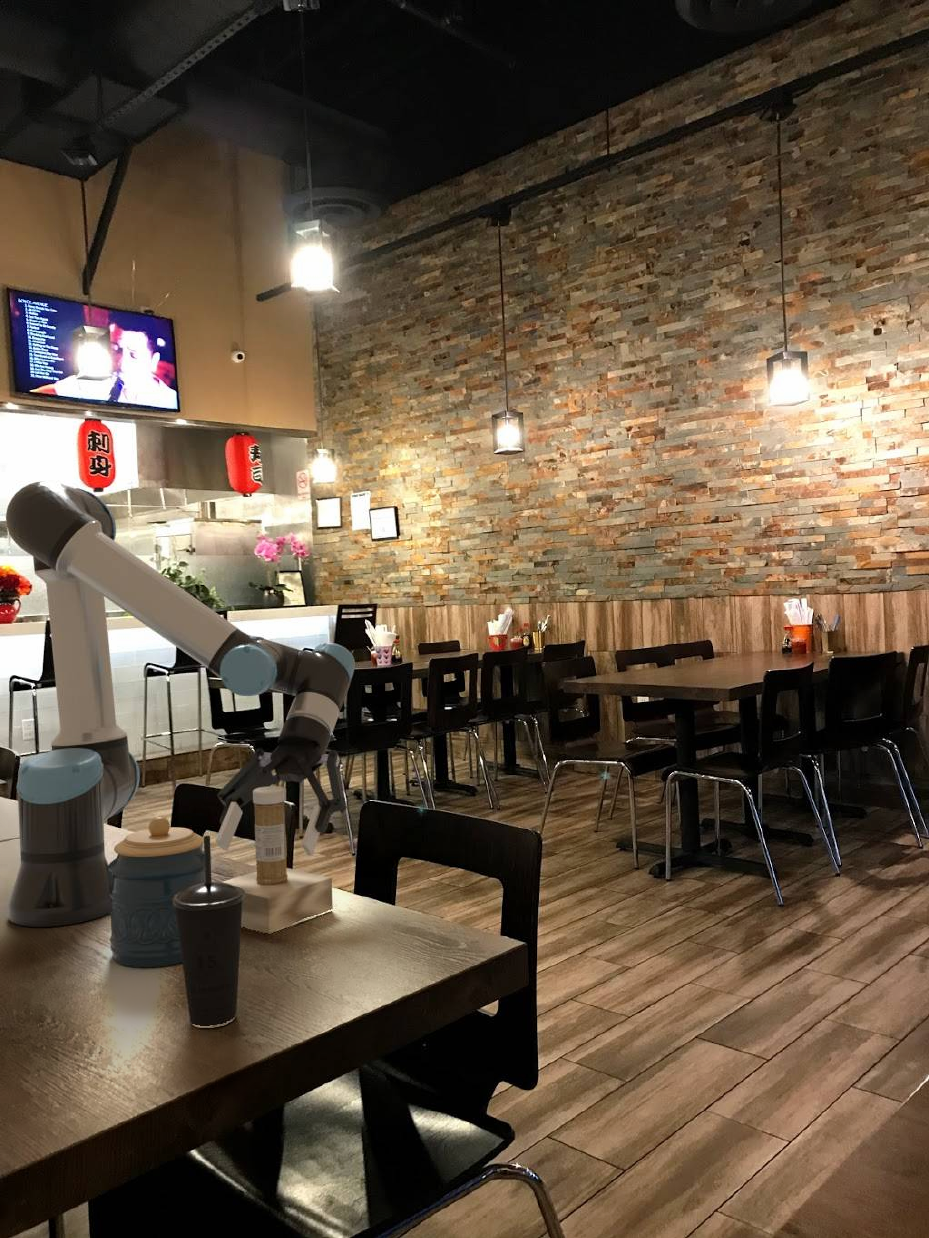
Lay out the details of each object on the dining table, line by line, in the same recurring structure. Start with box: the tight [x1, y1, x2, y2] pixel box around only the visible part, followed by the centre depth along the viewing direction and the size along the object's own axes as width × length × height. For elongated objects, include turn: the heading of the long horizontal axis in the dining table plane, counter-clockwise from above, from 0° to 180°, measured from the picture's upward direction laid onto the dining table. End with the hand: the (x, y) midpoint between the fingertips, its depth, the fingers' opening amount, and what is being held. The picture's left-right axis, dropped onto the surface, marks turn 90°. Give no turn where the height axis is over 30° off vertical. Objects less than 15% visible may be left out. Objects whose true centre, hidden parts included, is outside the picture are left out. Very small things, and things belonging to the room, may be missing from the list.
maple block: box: [222, 867, 334, 935], centre depth 143 cm, size 12×12×5 cm
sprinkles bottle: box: [252, 785, 288, 884], centre depth 143 cm, size 5×5×13 cm
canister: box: [108, 816, 213, 968], centre depth 129 cm, size 13×13×18 cm
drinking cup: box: [172, 835, 245, 1026], centre depth 107 cm, size 8×8×20 cm
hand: (263, 848), depth 140 cm, fingers open, 13 cm apart
